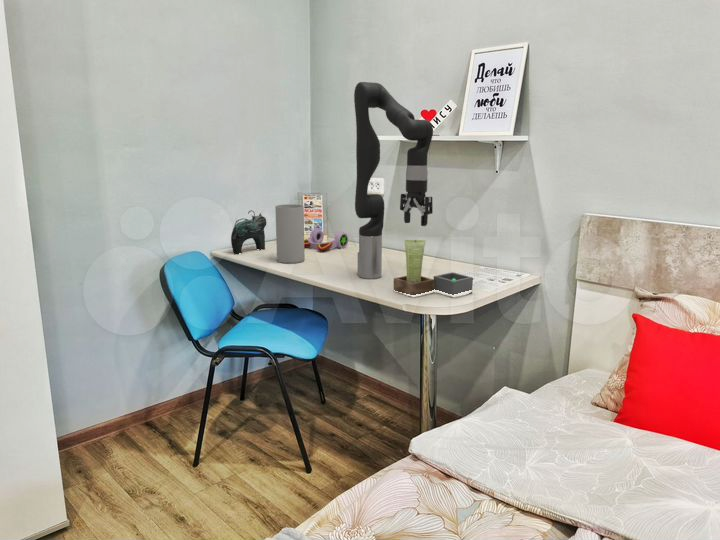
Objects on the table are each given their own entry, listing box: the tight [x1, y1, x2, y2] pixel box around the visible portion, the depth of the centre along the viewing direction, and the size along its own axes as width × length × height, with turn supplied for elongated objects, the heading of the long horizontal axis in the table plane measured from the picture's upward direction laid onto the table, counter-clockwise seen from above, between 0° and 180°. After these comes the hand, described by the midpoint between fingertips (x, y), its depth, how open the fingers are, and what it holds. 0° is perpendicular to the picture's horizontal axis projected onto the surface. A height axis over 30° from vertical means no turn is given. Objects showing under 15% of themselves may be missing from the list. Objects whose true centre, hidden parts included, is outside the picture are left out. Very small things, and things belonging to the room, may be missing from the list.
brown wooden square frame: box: [393, 275, 435, 295], centre depth 206 cm, size 10×10×5 cm
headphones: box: [304, 228, 349, 251], centre depth 285 cm, size 20×10×20 cm
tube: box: [404, 239, 426, 283], centre depth 204 cm, size 6×5×20 cm
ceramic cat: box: [230, 210, 267, 255], centre depth 274 cm, size 20×6×20 cm, turn 139°
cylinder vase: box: [275, 203, 306, 264], centre depth 253 cm, size 12×12×25 cm
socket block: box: [433, 271, 474, 295], centre depth 205 cm, size 10×10×7 cm
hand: (415, 224), depth 201 cm, fingers open, 8 cm apart
